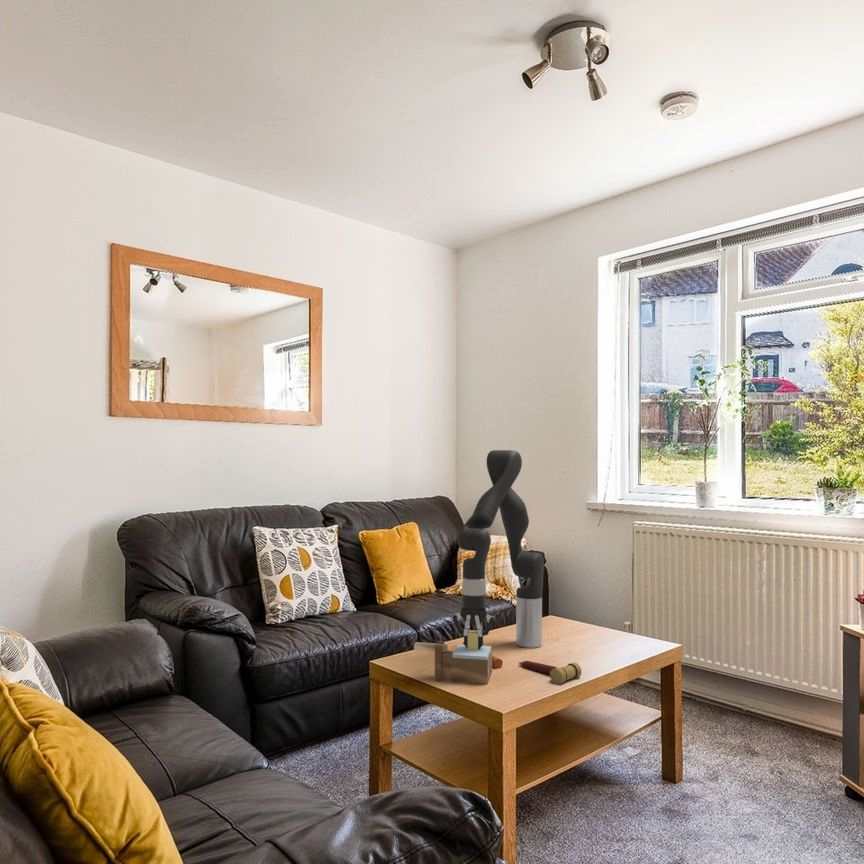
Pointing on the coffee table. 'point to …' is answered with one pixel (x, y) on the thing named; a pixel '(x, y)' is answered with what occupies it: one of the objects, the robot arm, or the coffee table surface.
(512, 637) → the coffee table surface
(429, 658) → the coffee table surface
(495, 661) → the kendama
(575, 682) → the coffee table surface
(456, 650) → the lid
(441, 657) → the toolbox
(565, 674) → the gavel
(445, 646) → the beige wooden bar
